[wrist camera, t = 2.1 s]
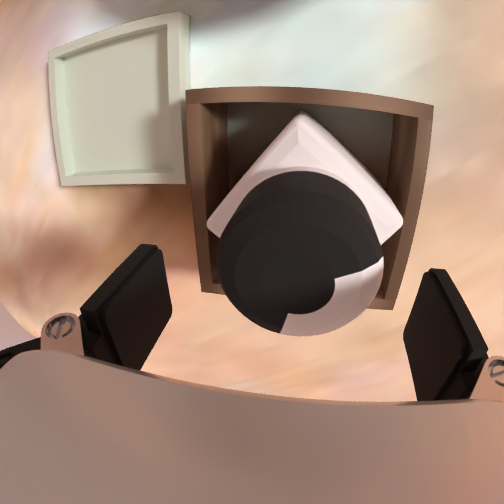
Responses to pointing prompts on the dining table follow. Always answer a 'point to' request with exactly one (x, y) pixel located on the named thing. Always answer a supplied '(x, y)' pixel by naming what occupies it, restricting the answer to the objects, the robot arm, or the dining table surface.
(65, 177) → the tray
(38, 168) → the dining table surface
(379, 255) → the medicine bottle
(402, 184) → the holder
